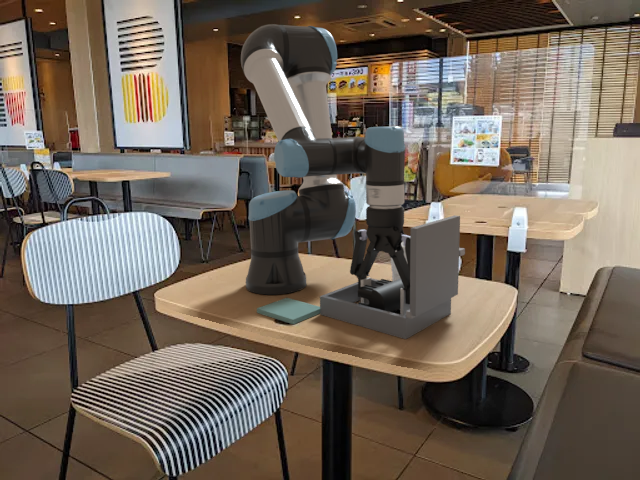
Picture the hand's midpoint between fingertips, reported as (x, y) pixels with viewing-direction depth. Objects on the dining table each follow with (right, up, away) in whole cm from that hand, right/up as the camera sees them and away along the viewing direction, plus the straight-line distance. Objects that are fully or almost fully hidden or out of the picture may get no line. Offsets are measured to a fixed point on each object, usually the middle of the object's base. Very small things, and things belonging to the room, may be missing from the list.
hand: (385, 312), depth 105 cm
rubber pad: (-20, 0, +3) cm, 20 cm away
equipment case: (+1, 0, 0) cm, 1 cm away
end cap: (0, -1, 0) cm, 1 cm away
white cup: (+8, +4, +22) cm, 24 cm away
